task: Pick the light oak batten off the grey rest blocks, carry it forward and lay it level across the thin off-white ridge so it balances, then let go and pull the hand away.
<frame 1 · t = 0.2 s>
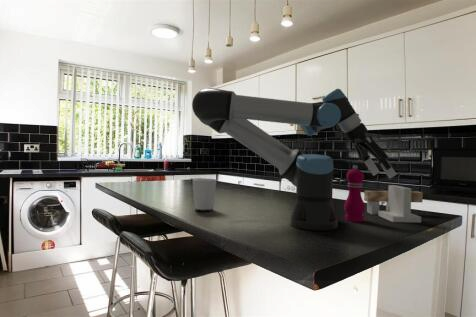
hand: (384, 175, 119), 16 cm above the countertop, tool tilted 35°, fingers open, 13 cm apart
ridge stand: (398, 218, 120), on the countertop
oak batten: (392, 201, 131), point 5 cm above the countertop, touching rest blocks
cup: (204, 210, 131), on the countertop
rest blocks: (392, 213, 131), on the countertop
pepper mill: (354, 220, 116), on the countertop
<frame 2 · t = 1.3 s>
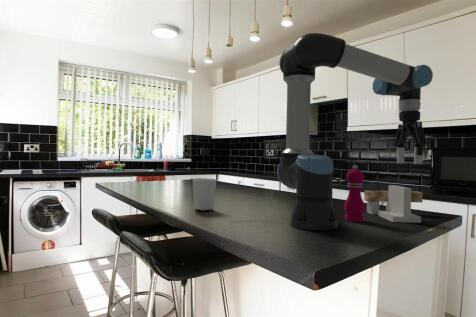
hand: (408, 163, 130), 21 cm above the countertop, tool pointing down, fingers open, 13 cm apart
nothing on the countertop moved.
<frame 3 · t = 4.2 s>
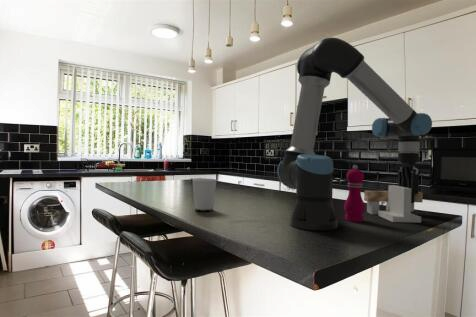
hand: (407, 209, 131), 2 cm above the countertop, tool pointing down, fingers closed on oak batten, 3 cm apart
oak batten: (392, 201, 131), point 5 cm above the countertop, touching gripper, rest blocks
everything else where it was.
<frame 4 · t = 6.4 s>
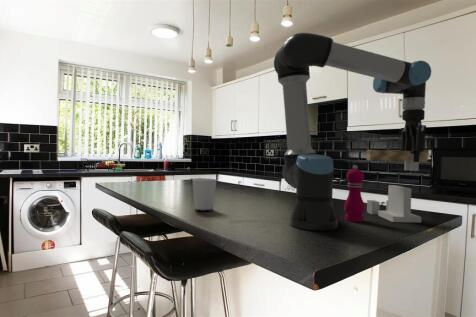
hand: (411, 170, 124), 18 cm above the countertop, tool pointing down, fingers closed on oak batten, 3 cm apart
oak batten: (396, 161, 124), point 21 cm above the countertop, touching gripper
everything else where it was.
when the fingers open (9 cm above the countertop, at t = 8.9 s): oak batten stays where it is, resting on ridge stand.
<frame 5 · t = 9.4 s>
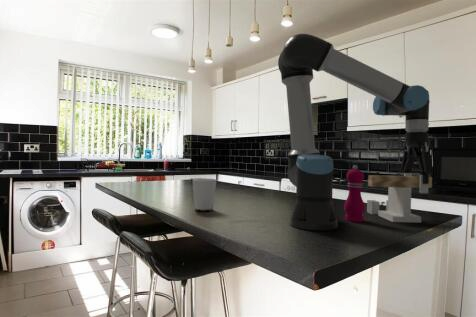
hand: (415, 191, 120), 10 cm above the countertop, tool pointing down, fingers open, 10 cm apart
oak batten: (399, 186, 120), point 12 cm above the countertop, touching ridge stand
everything else where it was.
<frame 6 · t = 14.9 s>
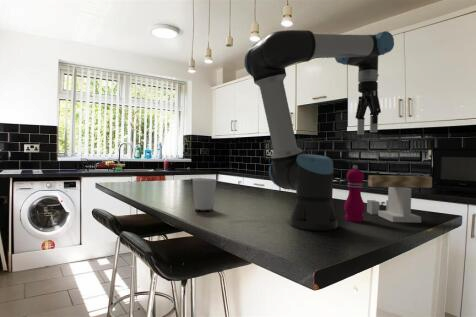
hand: (366, 133, 133), 33 cm above the countertop, tool pointing down, fingers open, 13 cm apart
nothing on the countertop moved.
at the end: oak batten 0.1 cm off-centre on the ridge stand, point 12.0 cm above the ridge stand's base; oak batten tilted 0°; the gripper is holding nothing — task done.
